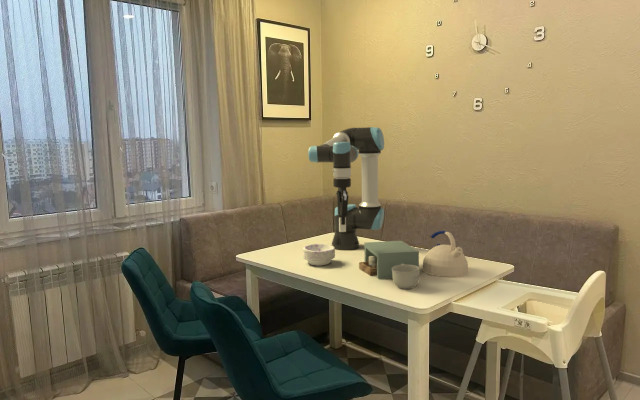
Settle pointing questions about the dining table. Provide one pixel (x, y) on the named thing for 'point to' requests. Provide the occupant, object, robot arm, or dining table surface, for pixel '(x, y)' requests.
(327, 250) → the paper bowls
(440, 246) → the kettle
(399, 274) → the teacup
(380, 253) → the sage green box
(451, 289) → the dining table surface
